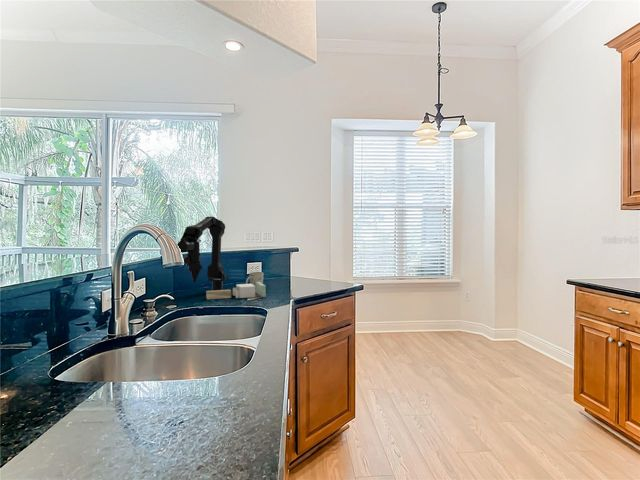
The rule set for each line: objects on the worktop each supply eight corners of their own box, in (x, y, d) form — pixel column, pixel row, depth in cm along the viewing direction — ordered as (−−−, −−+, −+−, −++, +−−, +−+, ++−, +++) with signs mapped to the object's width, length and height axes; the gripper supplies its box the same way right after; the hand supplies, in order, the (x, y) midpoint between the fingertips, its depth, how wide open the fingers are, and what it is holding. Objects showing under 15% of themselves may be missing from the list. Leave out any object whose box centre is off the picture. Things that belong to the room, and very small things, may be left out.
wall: (255, 292, 207) (255, 282, 207) (259, 292, 208) (259, 281, 208) (261, 297, 194) (261, 285, 194) (265, 296, 195) (265, 285, 195)
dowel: (206, 298, 191) (206, 291, 191) (229, 296, 196) (229, 289, 196) (207, 300, 188) (207, 292, 188) (231, 298, 193) (231, 290, 193)
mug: (266, 289, 218) (266, 272, 217) (252, 292, 207) (251, 274, 207) (256, 288, 222) (256, 271, 222) (241, 291, 212) (240, 273, 211)
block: (232, 295, 200) (232, 284, 200) (251, 293, 204) (251, 283, 204) (236, 298, 191) (235, 287, 191) (255, 296, 195) (255, 286, 195)
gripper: (175, 250, 192) (176, 280, 193) (177, 253, 175) (177, 285, 176) (198, 250, 197) (198, 279, 197) (201, 252, 179) (202, 284, 180)
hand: (194, 282), depth 187 cm, fingers closed
